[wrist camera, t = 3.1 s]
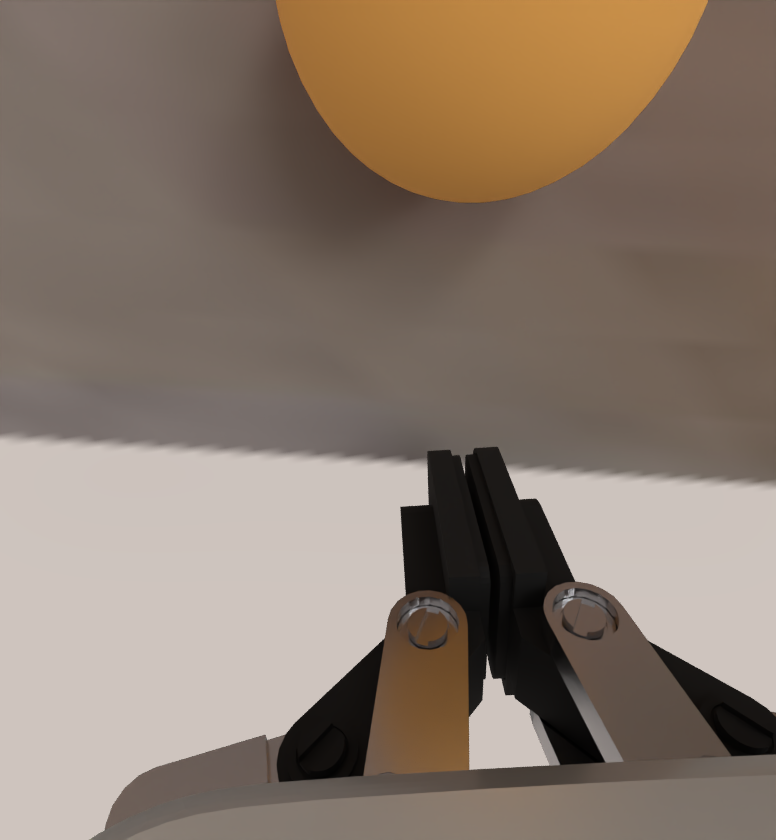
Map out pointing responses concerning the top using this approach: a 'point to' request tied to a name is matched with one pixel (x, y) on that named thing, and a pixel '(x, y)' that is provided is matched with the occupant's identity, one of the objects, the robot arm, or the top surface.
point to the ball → (483, 83)
